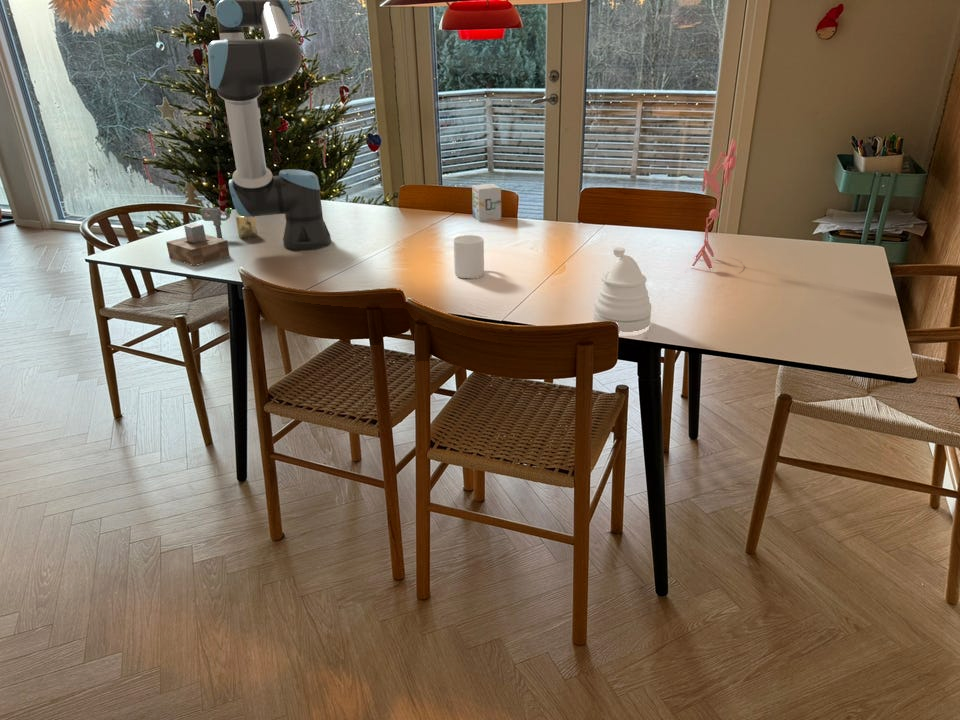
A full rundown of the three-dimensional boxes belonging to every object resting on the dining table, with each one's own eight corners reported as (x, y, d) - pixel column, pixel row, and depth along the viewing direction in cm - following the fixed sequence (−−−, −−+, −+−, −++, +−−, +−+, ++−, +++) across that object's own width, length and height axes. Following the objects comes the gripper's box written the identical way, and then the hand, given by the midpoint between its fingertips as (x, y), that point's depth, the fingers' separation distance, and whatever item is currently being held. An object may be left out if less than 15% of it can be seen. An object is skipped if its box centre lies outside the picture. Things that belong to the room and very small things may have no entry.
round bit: (261, 235, 236) (257, 215, 233) (245, 239, 232) (242, 219, 229) (250, 233, 240) (247, 212, 237) (235, 236, 236) (231, 216, 232)
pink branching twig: (683, 276, 191) (702, 145, 176) (694, 251, 213) (712, 131, 197) (742, 284, 186) (767, 149, 171) (747, 257, 208) (770, 135, 192)
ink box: (472, 216, 256) (471, 184, 250) (494, 214, 258) (494, 182, 253) (479, 222, 248) (478, 189, 243) (501, 219, 250) (501, 187, 245)
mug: (470, 265, 204) (469, 230, 200) (495, 268, 200) (494, 233, 196) (449, 277, 194) (448, 241, 190) (475, 281, 191) (474, 244, 186)
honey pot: (583, 327, 161) (587, 252, 153) (609, 311, 170) (615, 239, 162) (633, 341, 153) (640, 262, 146) (659, 323, 163) (666, 248, 155)
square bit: (209, 256, 216) (203, 224, 211) (197, 259, 213) (191, 227, 208) (202, 254, 218) (196, 222, 213) (190, 257, 215) (184, 225, 211)
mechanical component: (233, 239, 233) (228, 209, 229) (203, 239, 233) (197, 209, 229) (236, 236, 236) (231, 207, 231) (206, 237, 236) (200, 207, 232)
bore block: (229, 256, 215) (226, 240, 213) (194, 266, 207) (191, 249, 205) (204, 248, 223) (201, 233, 221) (169, 257, 215) (166, 241, 213)
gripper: (267, 47, 218) (277, 118, 228) (222, 47, 233) (232, 114, 242) (246, 48, 213) (257, 121, 222) (201, 47, 227) (213, 116, 237)
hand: (244, 117), depth 232 cm, fingers open, 13 cm apart
